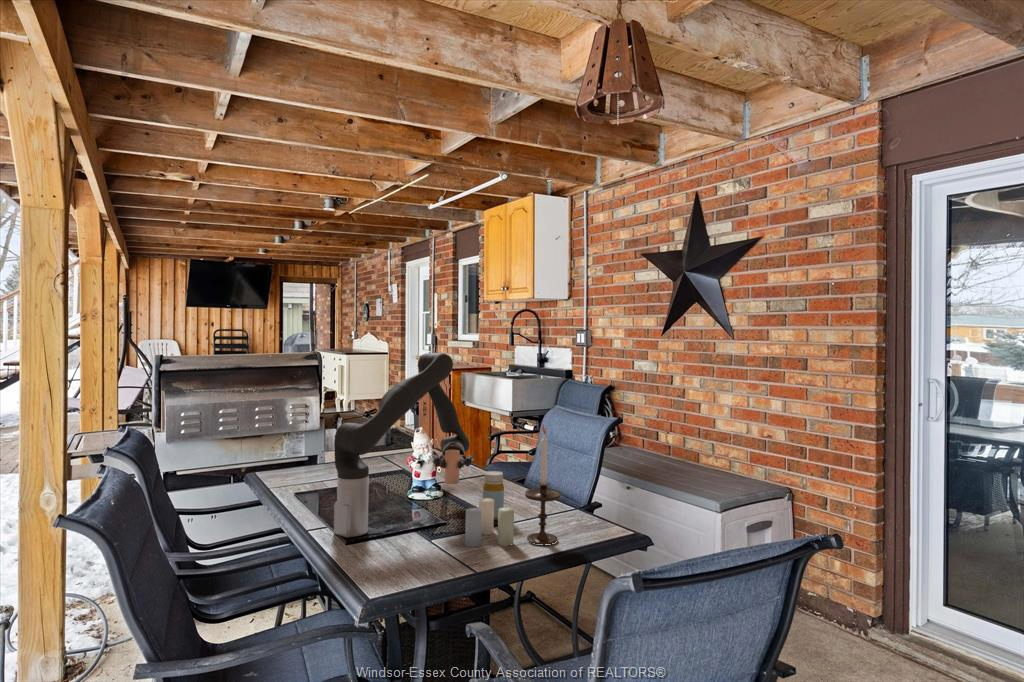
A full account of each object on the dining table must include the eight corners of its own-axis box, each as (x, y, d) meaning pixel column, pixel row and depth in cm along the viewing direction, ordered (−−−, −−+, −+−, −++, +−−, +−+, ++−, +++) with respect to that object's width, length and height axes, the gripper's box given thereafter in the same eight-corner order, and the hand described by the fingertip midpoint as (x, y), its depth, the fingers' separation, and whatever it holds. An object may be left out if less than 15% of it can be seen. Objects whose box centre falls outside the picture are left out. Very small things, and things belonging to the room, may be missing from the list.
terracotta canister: (452, 484, 193) (453, 453, 193) (441, 482, 196) (442, 451, 195) (462, 482, 197) (462, 450, 196) (451, 479, 199) (451, 448, 199)
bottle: (485, 521, 201) (485, 476, 201) (480, 515, 208) (481, 471, 207) (505, 520, 203) (506, 475, 203) (500, 514, 210) (501, 470, 209)
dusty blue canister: (474, 548, 177) (474, 513, 176) (461, 544, 179) (462, 510, 179) (484, 543, 180) (484, 509, 180) (472, 540, 183) (472, 507, 183)
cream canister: (487, 535, 187) (487, 503, 187) (475, 532, 190) (476, 500, 190) (496, 532, 191) (497, 500, 191) (484, 528, 194) (485, 497, 194)
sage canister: (507, 547, 178) (507, 513, 178) (494, 543, 180) (495, 510, 180) (516, 543, 181) (517, 509, 181) (503, 539, 184) (504, 506, 184)
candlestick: (530, 548, 177) (533, 427, 177) (519, 536, 188) (522, 421, 187) (565, 545, 180) (568, 426, 180) (553, 533, 191) (555, 420, 190)
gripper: (432, 443, 210) (429, 453, 193) (474, 443, 211) (475, 453, 194) (432, 464, 210) (428, 477, 193) (474, 465, 211) (474, 477, 194)
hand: (452, 465), depth 193 cm, fingers closed on terracotta canister, 4 cm apart
